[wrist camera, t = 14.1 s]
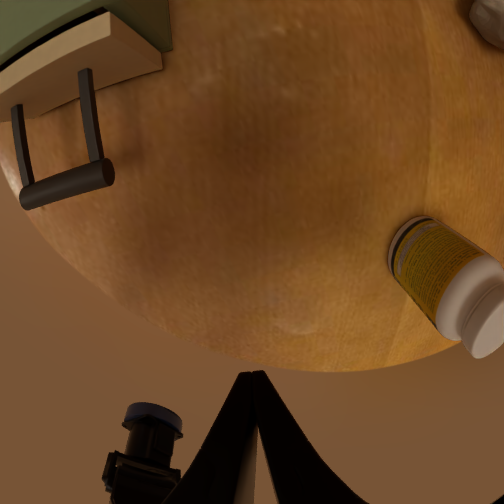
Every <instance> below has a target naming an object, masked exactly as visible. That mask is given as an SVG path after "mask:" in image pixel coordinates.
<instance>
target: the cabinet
mask: <svg viewBox="0 0 504 504" xmlns="http://www.w3.org/2000/svg"><path fill="white" fill-rule="evenodd" d="M100 7H104V8H105V9H106V10H108V11H109V12H111V13H112V14H114V15H115V16H116V17H118V18H119V19H120V20H121V21H123V22H124V23H125V24H126V25H128V26H129V27H130V28H131V29H133V30H134V31H135V32H136V33H138V34H139V35H140V36H141V37H142V38H144V39H145V40H146V41H147V42H148V43H150V44H151V45H152V46H153V47H154V48H156V49H157V50H158V51H159V52H160V53H161V52H165V51H169V50H172V49H173V47H172V38H171V28H170V18H169V7H168V0H0V65H2V64H3V63H4V62H6V61H7V60H8V59H10V58H11V57H12V56H14V55H15V54H17V53H18V52H19V51H21V50H22V49H24V48H25V47H27V46H28V45H30V44H32V43H33V42H35V41H36V40H38V39H40V38H41V37H43V36H45V35H46V34H48V33H50V32H51V31H53V30H55V29H57V28H59V27H60V26H62V25H64V24H66V23H68V22H70V21H72V20H74V19H76V18H78V17H80V16H82V15H84V14H87V13H89V12H91V11H93V10H96V9H98V8H100Z"/></svg>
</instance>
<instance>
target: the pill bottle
mask: <svg viewBox="0 0 504 504" xmlns="http://www.w3.org/2000/svg"><path fill="white" fill-rule="evenodd" d="M388 265H389V269H390V272H391V274H392V275H393V277H394V278H395V279H396V281H397V282H398V283H399V284H400V285H401V286H402V288H403V289H404V290H405V291H406V292H407V293H408V295H409V296H410V297H411V298H412V300H413V301H414V302H415V303H416V304H417V305H418V307H419V308H420V309H421V310H422V312H423V313H424V314H425V315H426V316H427V318H428V319H429V320H430V321H431V322H432V324H433V325H434V326H435V328H436V329H437V330H438V331H439V332H440V333H441V335H443V336H444V337H445V338H447V339H449V340H454V341H459V340H462V342H463V345H464V347H465V348H466V349H467V350H468V351H469V352H470V354H471V355H472V356H473V357H475V358H483V357H485V356H488V355H489V354H491V353H492V352H494V351H495V350H496V349H497V348H498V347H499V346H501V345H502V344H503V342H504V271H503V269H502V266H501V265H500V263H499V262H498V261H497V260H496V259H495V258H494V257H493V256H491V255H490V254H488V253H487V252H486V251H484V250H483V249H481V248H480V247H479V246H477V245H476V244H474V243H473V242H471V241H470V240H468V239H467V238H465V237H464V236H462V235H461V234H459V233H458V232H456V231H455V230H453V229H452V228H450V227H449V226H447V225H445V224H444V223H442V222H440V221H439V220H437V219H435V218H432V217H428V216H420V217H416V218H413V219H411V220H410V221H408V222H407V223H406V224H404V225H403V226H402V227H401V228H400V230H399V231H398V232H397V234H396V235H395V237H394V239H393V241H392V243H391V246H390V249H389V254H388Z"/></svg>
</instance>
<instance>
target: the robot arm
mask: <svg viewBox="0 0 504 504" xmlns="http://www.w3.org/2000/svg"><path fill="white" fill-rule="evenodd" d="M122 426H123V427H125V428H126V429H128V430H129V431H130V433H129V437H128V441H127V445H126V450H125V454H123V453H120V452H118V451H116V450H115V452H114V453H110V452H109V454H108V458H107V462H106V465H105V468H104V472H103V475H102V480H103V482H104V483H105V486H106V490H105V491H106V492H109V493H111V496H110V501H109V504H253V503H254V487H255V472H256V455H257V437H258V428H259V433H260V437H261V441H262V446H263V450H264V454H265V458H266V462H267V466H268V470H269V474H270V477H271V481H272V485H273V489H274V493H275V497H276V500H277V504H369V503H367V502H366V501H364V500H363V499H362V498H360V497H359V496H358V495H357V494H355V493H354V492H353V491H352V490H351V489H350V488H349V487H348V486H347V485H346V484H345V483H344V482H343V481H342V480H341V479H340V478H339V477H338V476H337V475H336V474H335V473H334V472H333V471H332V470H331V469H330V468H329V467H328V465H327V464H326V463H325V462H324V461H323V460H322V459H321V457H320V456H319V455H318V453H317V452H316V450H315V449H314V448H313V446H312V445H311V443H310V442H309V441H308V439H307V438H306V436H305V434H304V433H303V431H302V430H301V428H300V427H299V425H298V424H297V422H296V421H295V419H294V418H293V416H292V415H291V413H290V411H289V410H288V408H287V407H286V405H285V404H284V402H283V401H282V399H281V397H280V396H279V394H278V392H277V391H276V389H275V388H274V386H273V384H272V383H271V381H270V379H269V378H268V376H267V375H266V373H265V371H263V370H259V371H253V372H252V373H251V372H241V373H239V374H238V376H237V378H236V380H235V383H234V384H233V386H232V388H231V390H230V392H229V394H228V396H227V398H226V400H225V402H224V404H223V406H222V408H221V410H220V412H219V414H218V416H217V418H216V420H215V422H214V423H213V426H212V427H211V429H210V431H209V433H208V435H207V437H206V439H205V440H204V442H203V444H202V446H201V449H200V450H199V452H198V453H197V455H196V457H195V459H194V460H193V462H192V464H191V465H190V467H189V469H188V470H187V471H186V473H185V474H184V476H183V477H182V478H181V470H179V469H172V468H170V462H171V457H172V454H173V448H174V440H176V439H180V438H183V434H182V433H181V432H179V431H177V430H175V429H174V428H172V427H170V426H168V425H167V424H165V423H163V422H162V421H160V420H158V419H157V418H155V417H153V416H152V415H150V414H144V415H141V416H139V417H136V418H133V419H130V420H128V421H125V422H122ZM116 465H117V467H116ZM491 504H504V494H503V495H502V496H500V497H499V498H498V499H496V500H495V501H493V502H492V503H491Z"/></svg>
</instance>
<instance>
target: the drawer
mask: <svg viewBox="0 0 504 504" xmlns="http://www.w3.org/2000/svg"><path fill="white" fill-rule="evenodd" d="M161 69H163V67H162V59H161V53H160V52H159V51H158V50H157V49H156V48H154V47H153V46H152V45H151V44H150V43H148V42H147V41H146V40H145V39H144V38H142V37H141V36H140V35H139V34H138V33H136V32H135V31H134V30H133V29H131V28H130V27H129V26H128V25H126V24H125V23H124V22H123V21H121V20H120V19H119V18H118V17H116V16H115V15H114V14H112V13H111V12H109V11H108V10H106V9H105V8H104V7H100V8H98V9H96V10H93V11H91V12H89V13H87V14H84V15H82V16H80V17H78V18H76V19H74V20H72V21H70V22H68V23H66V24H64V25H62V26H60V27H59V28H57V29H55V30H53V31H51V32H50V33H48V34H46V35H45V36H43V37H41V38H40V39H38V40H36V41H35V42H33V43H32V44H30V45H28V46H27V47H25V48H24V49H22V50H21V51H19V52H18V53H17V54H15V55H14V56H12V57H11V58H10V59H8V60H7V61H6V62H4V63H3V64H2V65H0V122H6V121H12V128H13V136H14V143H15V149H16V155H17V161H18V166H19V171H20V176H21V180H22V185H23V188H22V189H21V191H20V194H19V200H20V204H21V206H22V207H23V208H24V209H25V210H31V209H34V208H37V207H40V206H43V205H46V204H49V203H52V202H56V201H59V200H62V199H65V198H69V197H72V196H75V195H79V194H82V193H86V192H90V191H93V190H97V189H101V188H104V187H108V186H111V185H113V183H114V180H115V171H114V167H113V164H112V162H111V161H110V159H108V158H105V157H104V152H103V146H102V141H101V135H100V129H99V122H98V116H97V108H96V101H95V92H94V91H95V90H98V89H100V88H103V87H106V86H109V85H111V84H114V83H117V82H120V81H123V80H126V79H129V78H133V77H136V76H139V75H143V74H146V73H150V72H153V71H157V70H161ZM78 97H80V103H81V111H82V118H83V125H84V132H85V138H86V143H87V149H88V154H89V159H90V162H91V163H88V164H84V165H81V166H78V167H75V168H72V169H70V170H67V171H64V172H61V173H58V174H56V175H53V176H50V177H48V178H45V179H42V180H40V181H37V182H35V180H34V175H33V171H32V166H31V161H30V155H29V149H28V143H27V137H26V130H25V122H24V119H34V118H36V117H38V116H40V115H42V114H44V113H45V112H47V111H49V110H52V109H54V108H56V107H58V106H60V105H62V104H64V103H66V102H69V101H71V100H73V99H76V98H78ZM34 182H35V183H34Z"/></svg>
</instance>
